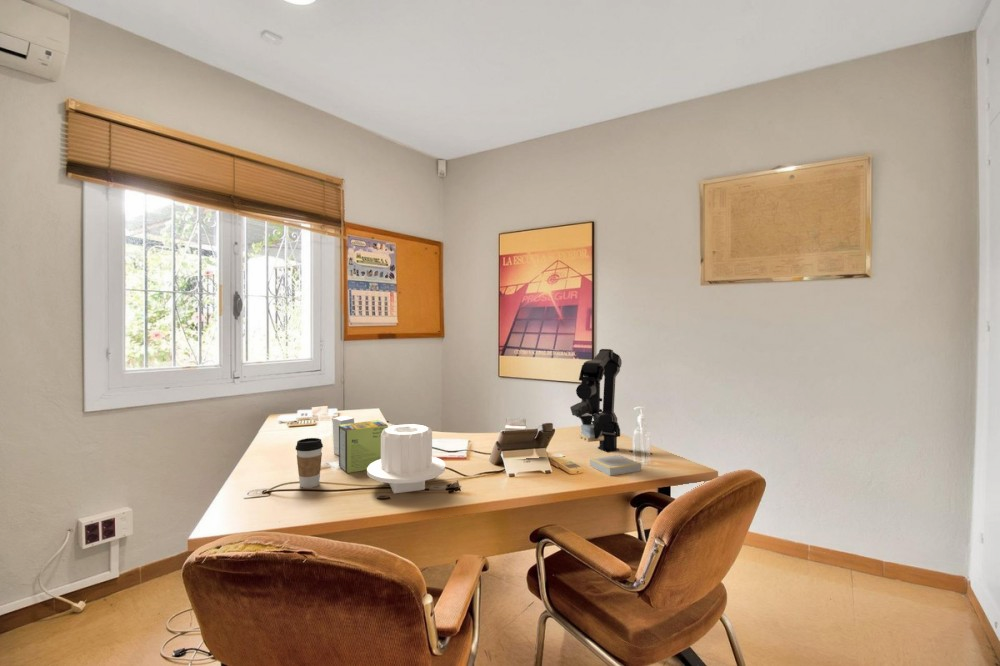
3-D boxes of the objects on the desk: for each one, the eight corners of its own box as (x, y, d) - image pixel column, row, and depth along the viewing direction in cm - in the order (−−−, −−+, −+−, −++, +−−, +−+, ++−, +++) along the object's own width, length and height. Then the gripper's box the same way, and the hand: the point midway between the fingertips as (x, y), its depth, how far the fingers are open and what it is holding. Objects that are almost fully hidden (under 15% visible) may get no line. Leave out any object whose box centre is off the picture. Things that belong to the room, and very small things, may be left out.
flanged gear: (363, 478, 160) (363, 423, 159) (434, 470, 169) (435, 418, 168) (372, 506, 137) (371, 442, 136) (454, 494, 146) (454, 435, 145)
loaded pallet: (594, 436, 180) (594, 423, 180) (603, 440, 175) (604, 426, 175) (579, 438, 178) (579, 425, 178) (587, 442, 172) (588, 428, 172)
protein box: (388, 466, 173) (388, 424, 173) (346, 473, 165) (346, 430, 164) (378, 458, 182) (378, 419, 181) (338, 465, 173) (338, 424, 173)
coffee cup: (296, 491, 148) (296, 444, 147) (294, 482, 155) (294, 438, 155) (324, 486, 152) (324, 441, 151) (321, 478, 159) (321, 435, 159)
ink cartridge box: (504, 456, 186) (504, 420, 185) (505, 453, 191) (505, 417, 190) (525, 457, 185) (525, 420, 185) (526, 453, 190) (526, 418, 190)
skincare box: (355, 455, 187) (355, 418, 186) (341, 458, 182) (341, 420, 182) (346, 450, 193) (346, 414, 192) (332, 453, 188) (331, 416, 188)
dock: (619, 461, 181) (619, 454, 181) (641, 470, 170) (641, 463, 170) (589, 465, 175) (590, 458, 175) (609, 475, 164) (610, 468, 164)
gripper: (561, 392, 181) (560, 432, 182) (587, 401, 164) (587, 445, 165) (585, 391, 185) (585, 429, 186) (614, 399, 168) (613, 441, 169)
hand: (591, 436), depth 176 cm, fingers closed on loaded pallet, 6 cm apart
